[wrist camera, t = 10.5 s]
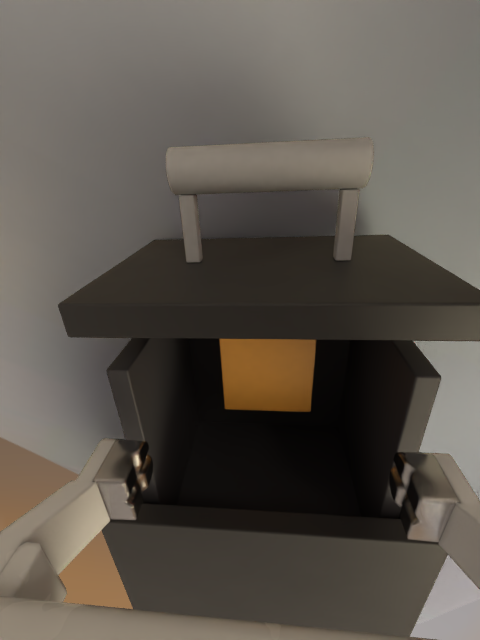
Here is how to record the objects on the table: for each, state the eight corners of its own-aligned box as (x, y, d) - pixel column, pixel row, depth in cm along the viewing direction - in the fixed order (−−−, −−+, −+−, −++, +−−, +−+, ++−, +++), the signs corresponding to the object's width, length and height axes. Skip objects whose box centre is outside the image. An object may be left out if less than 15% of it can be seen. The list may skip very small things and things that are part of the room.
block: (306, 298, 17) (317, 336, 13) (302, 362, 19) (310, 412, 15) (229, 298, 17) (218, 336, 14) (233, 361, 19) (224, 409, 15)
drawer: (139, 153, 15) (2, 144, 8) (405, 141, 14) (575, 113, 6) (182, 417, 23) (137, 548, 15) (357, 422, 22) (405, 569, 14)
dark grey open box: (171, 367, 22) (97, 521, 13) (369, 371, 21) (453, 545, 11) (192, 495, 29) (153, 661, 19) (346, 503, 27) (386, 687, 18)
